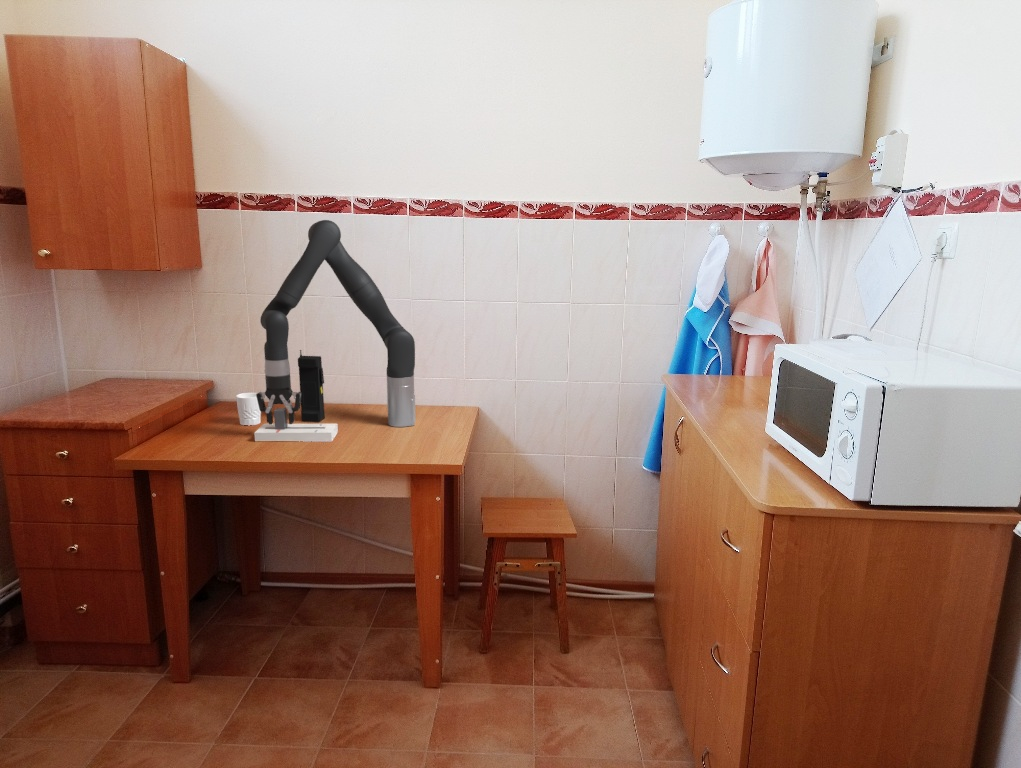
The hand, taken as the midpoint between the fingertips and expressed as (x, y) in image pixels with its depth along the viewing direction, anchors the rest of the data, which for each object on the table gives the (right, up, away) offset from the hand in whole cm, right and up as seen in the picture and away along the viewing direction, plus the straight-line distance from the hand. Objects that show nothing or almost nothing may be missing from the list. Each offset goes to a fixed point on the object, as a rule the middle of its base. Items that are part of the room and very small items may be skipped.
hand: (280, 423), depth 222 cm
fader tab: (0, -1, 0) cm, 1 cm away
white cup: (-16, -1, +16) cm, 22 cm away
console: (+5, -4, +1) cm, 7 cm away
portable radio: (+5, 0, +21) cm, 21 cm away
